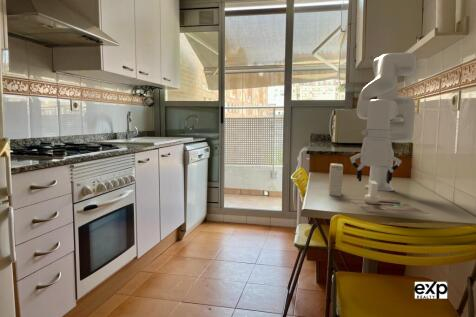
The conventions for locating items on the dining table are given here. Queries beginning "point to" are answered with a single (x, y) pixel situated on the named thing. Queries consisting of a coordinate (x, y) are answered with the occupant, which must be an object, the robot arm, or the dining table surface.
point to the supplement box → (335, 179)
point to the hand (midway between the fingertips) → (373, 181)
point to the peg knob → (375, 195)
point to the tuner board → (385, 206)
